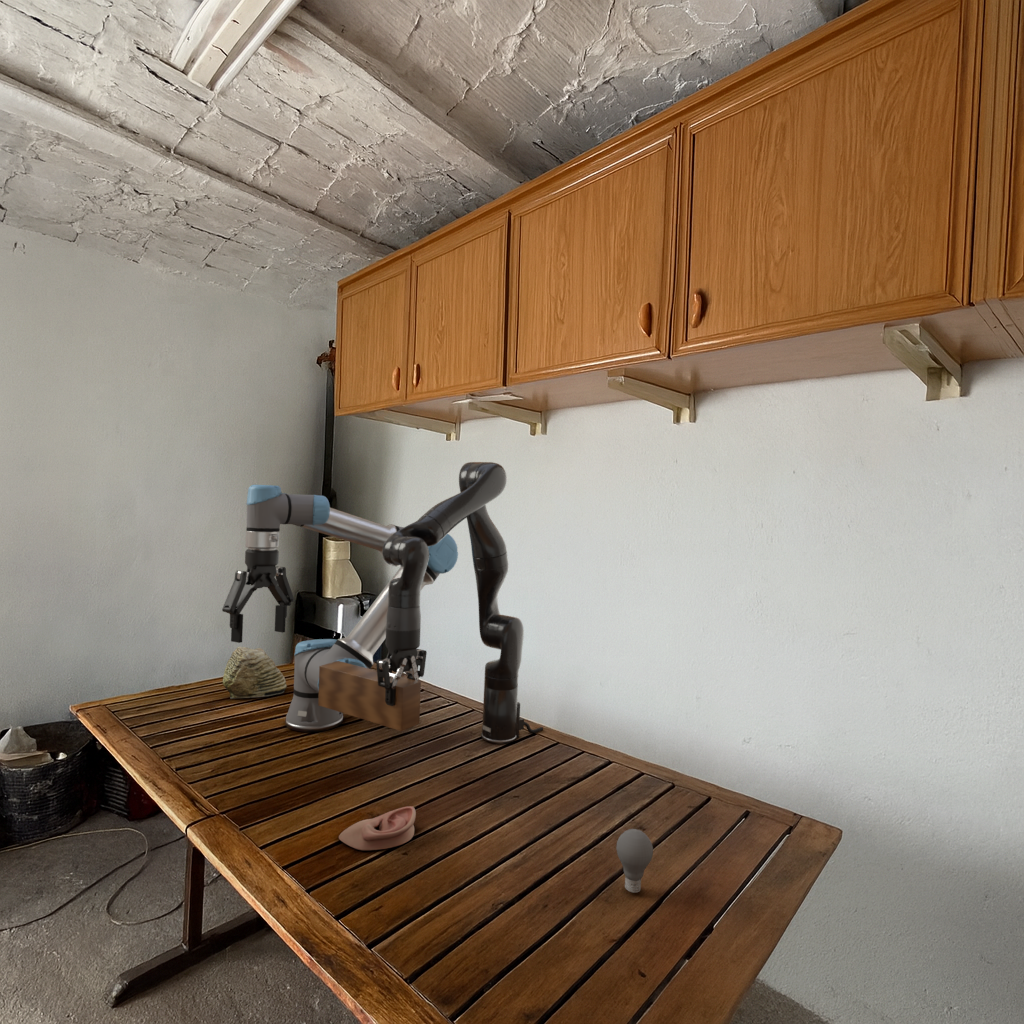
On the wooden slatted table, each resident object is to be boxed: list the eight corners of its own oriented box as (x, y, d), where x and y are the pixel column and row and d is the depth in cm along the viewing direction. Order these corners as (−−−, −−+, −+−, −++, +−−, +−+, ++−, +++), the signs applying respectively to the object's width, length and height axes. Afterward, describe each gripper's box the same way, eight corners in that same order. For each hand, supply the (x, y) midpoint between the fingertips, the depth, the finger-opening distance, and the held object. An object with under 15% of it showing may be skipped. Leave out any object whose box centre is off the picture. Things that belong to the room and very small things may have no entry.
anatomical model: (331, 824, 115) (359, 795, 126) (330, 845, 115) (358, 815, 126) (400, 835, 112) (422, 805, 124) (399, 857, 112) (421, 825, 124)
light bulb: (610, 879, 108) (613, 822, 108) (644, 879, 109) (647, 822, 109) (619, 902, 102) (622, 840, 102) (655, 901, 103) (658, 840, 103)
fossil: (218, 695, 195) (220, 647, 195) (278, 685, 208) (279, 640, 207) (228, 703, 189) (230, 653, 188) (289, 692, 201) (290, 645, 201)
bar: (318, 705, 151) (319, 665, 150) (337, 699, 156) (338, 660, 155) (401, 731, 136) (402, 687, 136) (419, 723, 141) (421, 681, 141)
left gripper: (232, 553, 139) (228, 648, 140) (310, 547, 162) (307, 629, 163) (207, 550, 143) (204, 644, 143) (287, 545, 165) (284, 626, 166)
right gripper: (393, 633, 132) (390, 713, 132) (437, 623, 144) (435, 696, 144) (367, 628, 136) (365, 706, 136) (412, 618, 148) (410, 690, 148)
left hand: (259, 636), depth 153 cm, fingers open, 13 cm apart
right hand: (401, 700), depth 140 cm, fingers closed on bar, 6 cm apart
